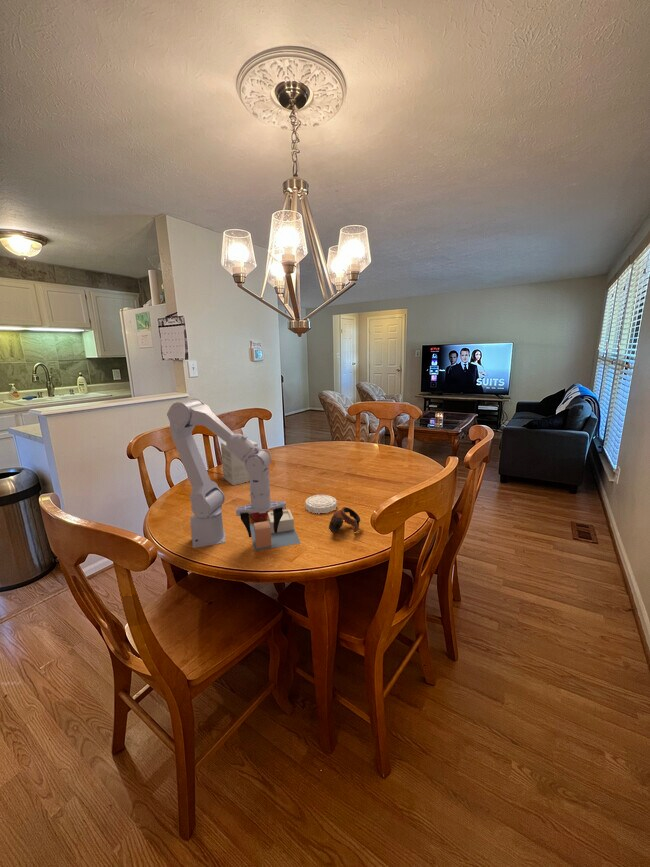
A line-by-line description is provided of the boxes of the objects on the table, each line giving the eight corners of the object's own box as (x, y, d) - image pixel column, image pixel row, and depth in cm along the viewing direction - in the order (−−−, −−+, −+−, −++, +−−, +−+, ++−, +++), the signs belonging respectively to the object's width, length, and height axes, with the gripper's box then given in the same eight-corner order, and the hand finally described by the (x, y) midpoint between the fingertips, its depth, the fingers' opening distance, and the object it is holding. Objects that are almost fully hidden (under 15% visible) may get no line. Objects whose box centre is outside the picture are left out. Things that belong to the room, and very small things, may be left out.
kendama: (245, 507, 131) (247, 523, 114) (247, 491, 131) (249, 504, 114) (265, 509, 133) (270, 524, 116) (267, 493, 133) (272, 506, 116)
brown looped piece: (334, 521, 118) (346, 502, 116) (354, 540, 114) (367, 521, 112) (316, 527, 108) (329, 507, 106) (338, 548, 103) (351, 527, 101)
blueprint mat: (254, 552, 99) (254, 551, 99) (249, 525, 115) (249, 524, 115) (300, 544, 103) (300, 543, 103) (290, 519, 119) (290, 518, 118)
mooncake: (300, 505, 130) (299, 497, 129) (327, 499, 135) (327, 491, 135) (313, 518, 120) (313, 509, 119) (342, 511, 125) (342, 502, 124)
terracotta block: (256, 548, 100) (255, 530, 99) (254, 540, 104) (253, 523, 103) (271, 545, 101) (270, 527, 100) (269, 538, 106) (268, 520, 104)
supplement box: (248, 471, 168) (246, 437, 164) (260, 479, 157) (258, 443, 154) (222, 477, 160) (219, 442, 157) (232, 485, 150) (229, 448, 146)
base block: (271, 533, 109) (270, 522, 108) (268, 522, 116) (267, 512, 115) (294, 529, 111) (293, 519, 110) (289, 519, 118) (289, 509, 117)
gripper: (235, 500, 93) (238, 544, 96) (287, 493, 97) (288, 536, 100) (234, 490, 100) (237, 532, 103) (282, 484, 104) (284, 525, 107)
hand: (262, 533), depth 102 cm, fingers open, 7 cm apart
